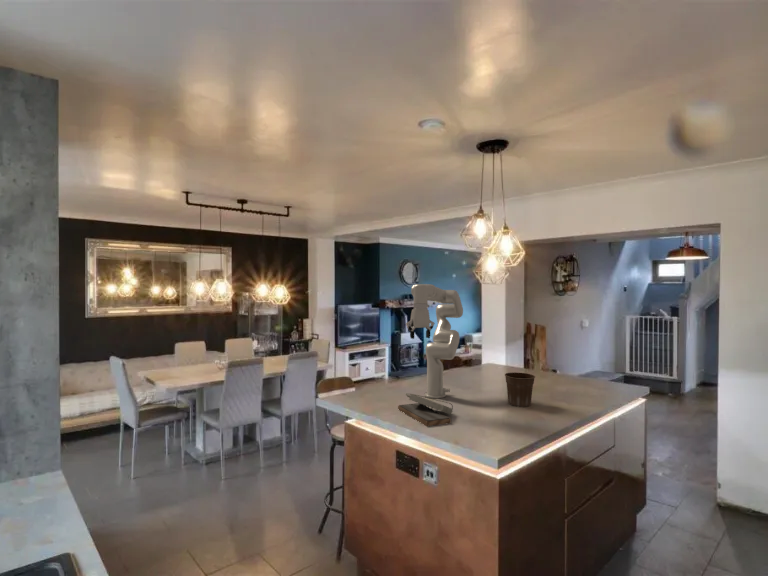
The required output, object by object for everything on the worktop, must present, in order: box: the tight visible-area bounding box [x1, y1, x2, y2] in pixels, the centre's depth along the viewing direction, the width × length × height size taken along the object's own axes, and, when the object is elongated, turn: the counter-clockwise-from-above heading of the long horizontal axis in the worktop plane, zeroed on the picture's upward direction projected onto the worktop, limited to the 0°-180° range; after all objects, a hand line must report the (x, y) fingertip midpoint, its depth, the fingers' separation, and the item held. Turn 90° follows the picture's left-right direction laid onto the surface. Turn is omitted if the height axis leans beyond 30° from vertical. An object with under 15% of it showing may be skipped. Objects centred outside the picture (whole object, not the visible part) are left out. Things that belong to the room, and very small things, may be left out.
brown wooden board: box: [397, 402, 452, 427], centre depth 218 cm, size 13×30×2 cm, turn 24°
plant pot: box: [504, 372, 536, 408], centre depth 243 cm, size 16×16×16 cm
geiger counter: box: [405, 393, 454, 415], centre depth 225 cm, size 14×6×25 cm
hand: (420, 338), depth 240 cm, fingers open, 9 cm apart
